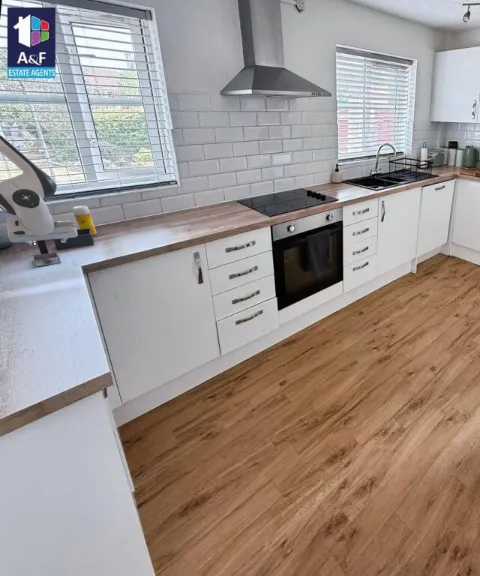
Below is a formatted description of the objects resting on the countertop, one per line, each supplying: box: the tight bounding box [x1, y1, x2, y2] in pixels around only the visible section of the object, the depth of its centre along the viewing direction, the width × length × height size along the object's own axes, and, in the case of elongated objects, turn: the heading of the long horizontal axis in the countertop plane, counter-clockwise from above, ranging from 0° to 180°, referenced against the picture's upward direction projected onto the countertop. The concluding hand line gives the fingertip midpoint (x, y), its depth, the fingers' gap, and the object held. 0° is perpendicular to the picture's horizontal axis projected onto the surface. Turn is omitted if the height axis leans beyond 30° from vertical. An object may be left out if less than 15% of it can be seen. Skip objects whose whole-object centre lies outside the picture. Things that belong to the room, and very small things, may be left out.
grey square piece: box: [31, 240, 62, 268], centre depth 149 cm, size 13×8×9 cm, turn 43°
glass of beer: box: [72, 205, 97, 236], centre depth 183 cm, size 6×6×15 cm
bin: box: [53, 228, 95, 251], centre depth 169 cm, size 13×13×6 cm
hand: (48, 242), depth 150 cm, fingers open, 8 cm apart
